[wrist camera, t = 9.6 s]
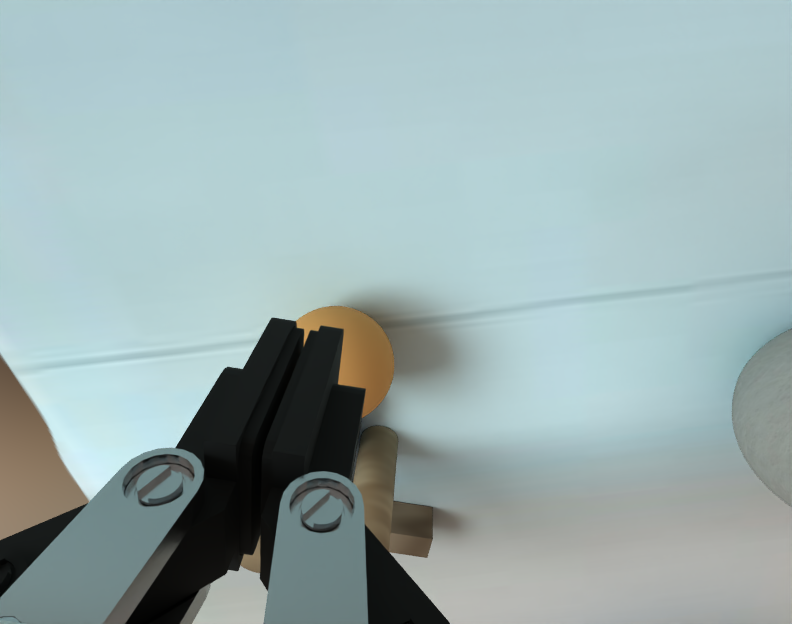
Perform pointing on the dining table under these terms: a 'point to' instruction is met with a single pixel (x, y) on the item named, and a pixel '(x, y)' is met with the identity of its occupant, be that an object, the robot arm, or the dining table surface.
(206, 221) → the dining table surface
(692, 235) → the dining table surface
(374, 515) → the pin
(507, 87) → the dining table surface
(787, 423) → the ball
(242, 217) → the dining table surface
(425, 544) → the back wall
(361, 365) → the orange ball
